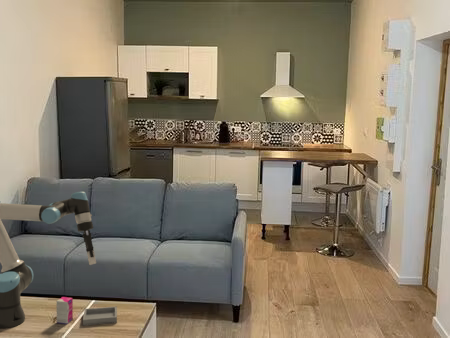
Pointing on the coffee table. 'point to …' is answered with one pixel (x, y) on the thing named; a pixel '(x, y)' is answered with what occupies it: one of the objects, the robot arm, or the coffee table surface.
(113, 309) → the tray
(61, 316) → the supplement box
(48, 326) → the coffee table surface
